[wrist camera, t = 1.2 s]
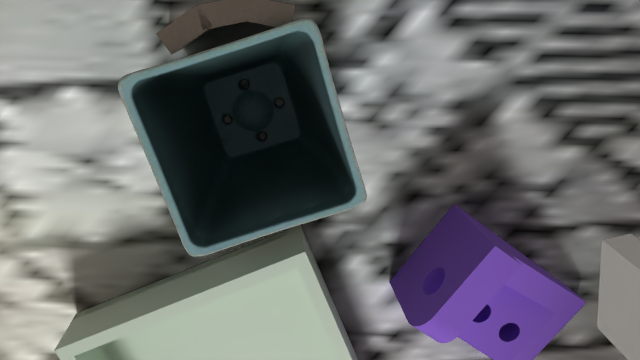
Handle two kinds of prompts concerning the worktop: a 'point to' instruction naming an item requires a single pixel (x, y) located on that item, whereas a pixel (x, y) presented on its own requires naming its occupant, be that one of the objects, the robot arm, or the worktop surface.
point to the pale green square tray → (221, 312)
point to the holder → (223, 19)
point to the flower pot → (246, 137)
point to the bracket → (481, 291)
